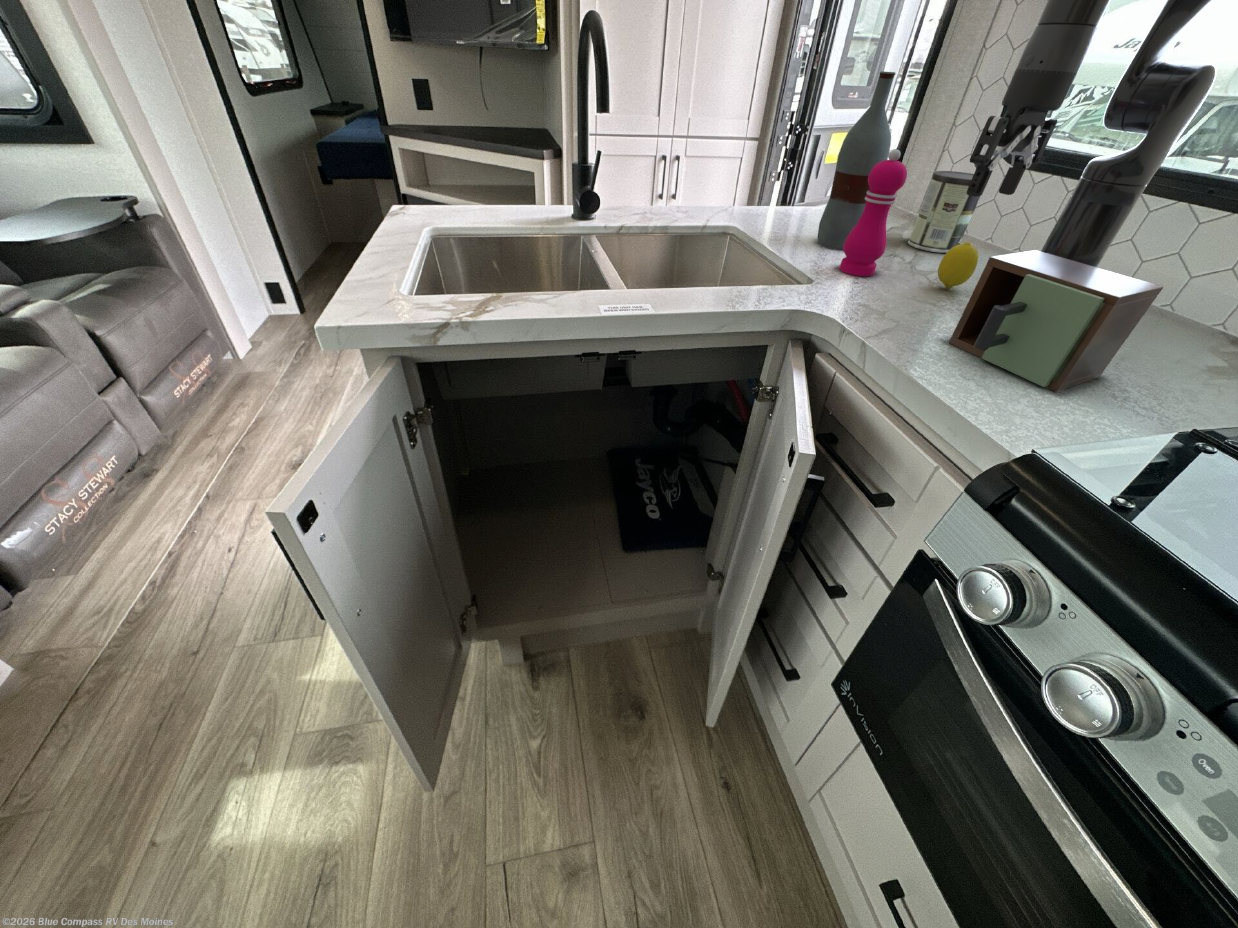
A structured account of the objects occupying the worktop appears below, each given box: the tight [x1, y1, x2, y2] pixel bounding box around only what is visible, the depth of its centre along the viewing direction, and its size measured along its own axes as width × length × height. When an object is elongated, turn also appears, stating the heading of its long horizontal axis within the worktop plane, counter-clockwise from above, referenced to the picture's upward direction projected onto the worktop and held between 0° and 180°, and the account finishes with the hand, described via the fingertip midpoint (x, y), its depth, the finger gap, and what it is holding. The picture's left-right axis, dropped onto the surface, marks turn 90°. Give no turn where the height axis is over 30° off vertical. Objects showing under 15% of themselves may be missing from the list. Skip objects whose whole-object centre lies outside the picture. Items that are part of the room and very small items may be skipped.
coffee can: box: [907, 170, 982, 254], centre depth 110 cm, size 10×10×14 cm
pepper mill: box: [839, 148, 908, 277], centre depth 91 cm, size 7×7×20 cm
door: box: [974, 274, 1105, 388], centre depth 62 cm, size 6×8×11 cm
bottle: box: [817, 70, 897, 251], centre depth 102 cm, size 9×9×30 cm
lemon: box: [937, 241, 979, 290], centre depth 90 cm, size 6×6×8 cm
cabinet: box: [948, 249, 1164, 393], centre depth 67 cm, size 10×15×12 cm, turn 27°
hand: (989, 195), depth 83 cm, fingers open, 8 cm apart
